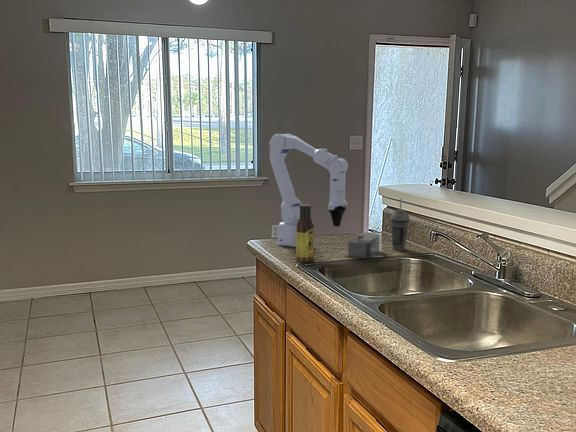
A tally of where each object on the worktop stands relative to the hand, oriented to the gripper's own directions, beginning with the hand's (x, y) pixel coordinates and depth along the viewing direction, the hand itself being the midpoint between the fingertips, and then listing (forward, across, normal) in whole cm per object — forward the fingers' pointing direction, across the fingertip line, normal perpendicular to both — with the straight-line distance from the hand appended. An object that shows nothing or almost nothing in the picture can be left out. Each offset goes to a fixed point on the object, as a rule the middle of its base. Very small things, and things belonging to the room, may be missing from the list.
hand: (336, 226), depth 212 cm
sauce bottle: (+10, -20, +4) cm, 23 cm away
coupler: (+9, -1, -12) cm, 15 cm away
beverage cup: (+9, +12, -21) cm, 26 cm away
